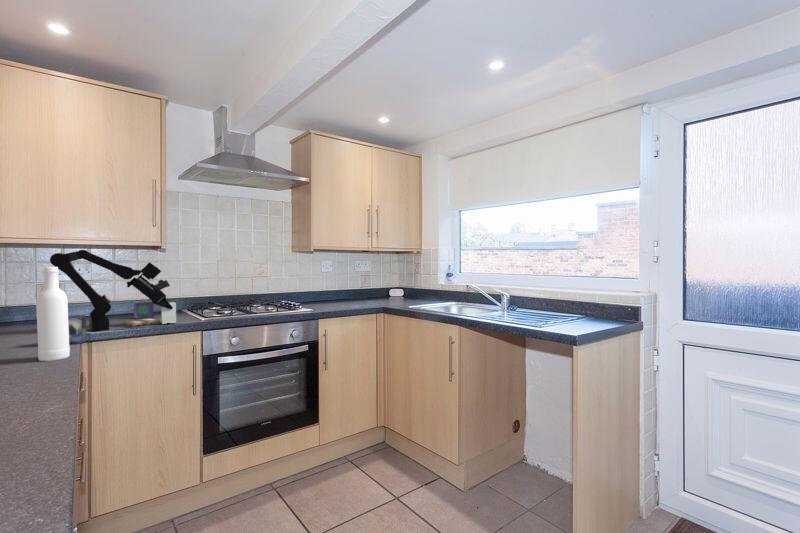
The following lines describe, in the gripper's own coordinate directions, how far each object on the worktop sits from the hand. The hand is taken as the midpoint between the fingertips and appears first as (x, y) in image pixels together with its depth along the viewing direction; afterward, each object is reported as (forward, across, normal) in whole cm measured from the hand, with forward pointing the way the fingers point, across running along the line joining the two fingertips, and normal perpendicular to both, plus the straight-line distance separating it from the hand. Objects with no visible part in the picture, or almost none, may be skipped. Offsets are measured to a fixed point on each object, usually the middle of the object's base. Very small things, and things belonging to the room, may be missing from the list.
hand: (171, 307), depth 201 cm
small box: (-21, -29, +32) cm, 48 cm away
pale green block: (+4, 0, +6) cm, 7 cm away
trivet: (-3, +10, +14) cm, 18 cm away
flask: (-2, +31, +13) cm, 33 cm away
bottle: (-21, -56, +33) cm, 69 cm away
